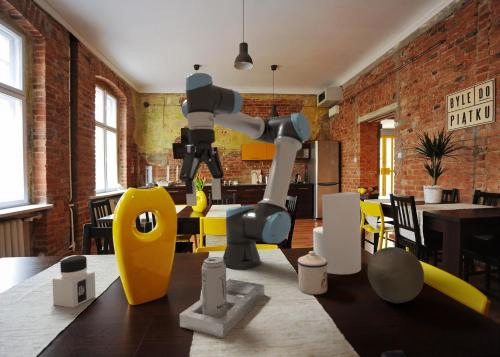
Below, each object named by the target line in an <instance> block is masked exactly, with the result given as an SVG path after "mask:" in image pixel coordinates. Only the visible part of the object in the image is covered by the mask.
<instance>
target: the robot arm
mask: <svg viewBox="0 0 500 357" xmlns="http://www.w3.org/2000/svg"><path fill="white" fill-rule="evenodd" d="M213 83H214V82H213V77H212V76H211V75H210V74H208V73H205V72H194V73H193V72H192V73H191V74H188V75H187V76H186V78H185V96H186V97H185V98H186V99H184V101H183V102H182V104H181V112H182V115H183V116H184V117H185V119H187V128H188V129H189V130H188V132H187V133H188V142H189V144H187V145H185V146H184V156H183V160H182V165H181V168H180V172H179V178H178V179H179V180H180V181H181V182H182V183H184V184H185V185H184V186H185V196H186V206H187V207H197V206H198V200H197V198H198V197H197V181H194V180H195V177H196V176H197V174H198V170H199V168H200V166H201V164H202V163H205V165H206V167H207V168H208V170H209V173H210V175H211V176H212V178H211V180H210V182H211V195H212V196H211V199H212V200H213V201H214V200H215V201H216V200H222V192H221V179H224V175H225V173H224V170H223V167H222V163H221V160H220V155H219V149H218V147H217V146H212V144H214V143H215V142H216V135H215V132H216V131H215V130H214V128H215V125H216V126H219V127H223V128H225V129H228V130H232V131H235V132H238V133H241V134H244V135H246V136H248V137H249V138H250V139H252V140H256V141H259V142H262V143H266V144H271V145H273V144H274V145H275V151H274V155H273V158H272V162H271V167H270V170H269V175H268V178H267V182H266V186H265V190H264V193H263V194H264V195H263V198H262V200H260V201H258V202H257V205H256V207H255V205H253V204H252V205H241V206H234V207H229V208H227V210H226V212H225V231H226V246H225V249H224V252H223V256H222V258H223V262H224V263H225V265H226V268H229V269H237V270H240V269H241V270H244V269H251V268H255V267H257V266H259V265H260V264H261V255H260V253H259V250H258V247H257V244H256V241H257V242H263V243H264V242H265V243H267V244H281V243H282V242H283V241H284V240H286V238H287V237H288V235H289V233H290V232H291V228H292V227H291V226H292V223H291V221H292V220H291V216H290V215H289V213H288V209H287V207H286V200H287V196H288V191H289V188H290V183H291V177H292V174H293V171H294V170H293V169H294V165H295V162H296V157H297V152H299V151H300V150H301V149H302V147H303V143H304V142H306V141H308V140H310V138H311V125H310V122H309V120H308V118H307V116H306V115H305V114H303V113H302V112H297V113H296V112H295V113H294V112H293V113H291V114H286V115H279V116H273V117H268V118H267V117H266V118H262V117H260V116H255V117H254V116H251V115H249V114H246V113H243V112H241V110H242V109H243V102H244V101H243V99H244V98H243V96H242V95H241V93H240V92H238V91H236V90H234V89H232V88H226V87H222V86H217V85H215V84H213Z"/></svg>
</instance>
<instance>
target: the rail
mask: <svg viewBox="0 0 500 357" xmlns="http://www.w3.org/2000/svg"><path fill="white" fill-rule="evenodd" d="M231 293H236V294H241V295H243V297H242V296H239V295H233V294H231ZM226 294H227V313H225V314H224V315H223V316H222V317H221V318H220V319H219V318H215V317H211V316H206V315H203V308H202V298H200V299H199V300H198V301H196V302H195V303H193V304H192V305H191V306H189V307H188V308H187V309H184V310H183V311H182V312H181V313H179V327H180V328H183V329H188V330H190V331H195V332H199V333H203V334H206V335H210V336H214V337H216V338H221V339H223V338H225V337H226V336H227V334H228V333H230V332H231V330H233V328H234V327H236V326H237V324H238V323H239V322H240V321H241V320H242V319H243V318H244V317H245V316H246V315H247V314H248V313H249V311H251V309H252V308H254V306H256V304H257V303H258V302H259V301H260V300H261V299H262V298H263V297H264V296H265V284H263V283H254V282H249V281H242V280H236V279H230V278H229V279H226Z"/></svg>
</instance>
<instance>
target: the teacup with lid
mask: <svg viewBox="0 0 500 357" xmlns="http://www.w3.org/2000/svg"><path fill="white" fill-rule="evenodd" d="M327 264H328V263H327V260H326V259H325V258H323V257H320V256H318V255H316V254H315V252H314V250H311V251H310V250H309V252H308V254H305V255H302V256H300V257H299V258H298V259H297V267H298V268H297V269H298V289H299V290H300V292H302V293H304V294H308V295H322V294H325V293H327V291H328V273H327Z"/></svg>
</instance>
